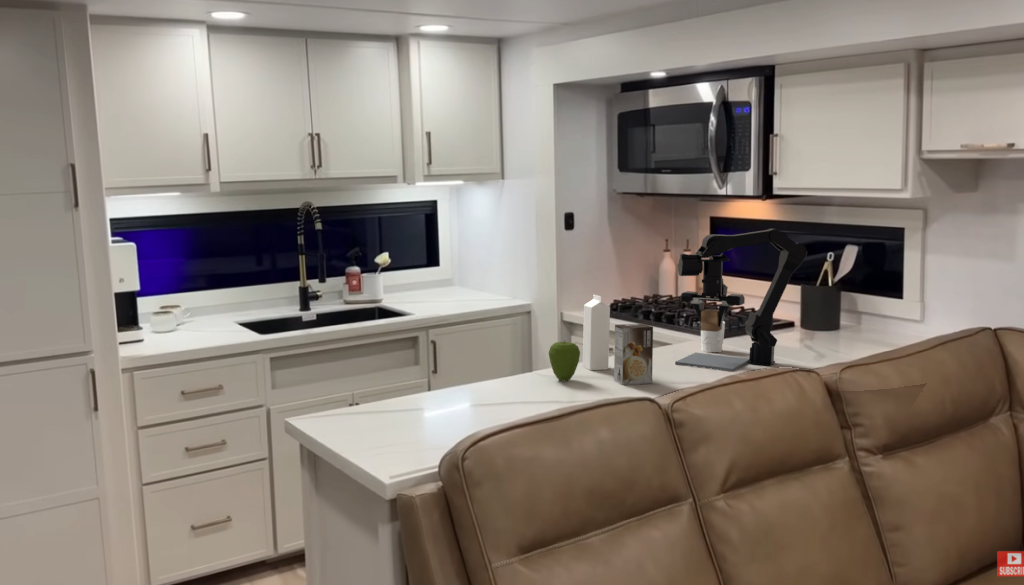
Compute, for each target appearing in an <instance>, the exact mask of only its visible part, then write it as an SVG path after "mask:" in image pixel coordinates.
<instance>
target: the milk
mask: <svg viewBox="0 0 1024 585" xmlns="http://www.w3.org/2000/svg"><path fill="white" fill-rule="evenodd" d="M592 297H593V298H592V299H591V300H590V301H588V302H586V303H585V304H584V305H583V326H582V327H583V328H582V330H583V333H582V334H583V335H582V341H583V342H582V367H583V368H585V369H587V370H588V371H600V370H601V371H602V370H606V371H607V370H609V359H610V358H609V356H610V355H609V354H610V352H609V351H610V322H611V321H610V320H611V317H610V316H611V306H610V305H608V304H606V303H604V302H602V296H601V295H597V294H593V295H592Z"/></svg>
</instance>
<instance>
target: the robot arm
mask: <svg viewBox="0 0 1024 585" xmlns="http://www.w3.org/2000/svg"><path fill="white" fill-rule="evenodd" d="M767 243H768V244H769V243H770V244H772V246H774V248H776V249H777V250H778V251H780V253H779V257H778V267H777V270H776V272H775V274H774V277H773V278H772V280H771V283H770V285H769V287H768V289H767V291H766V293H765V295H764V298H763V299H762V302H761V304H760V306H759V308H758V309H757V310H756V311H755V312H753V311H749V313H748V318H747V320H746V321H745V322H744V324H745V328H744V329H745V332H746V335H747V336H749V337H750V339H751V341H752V343H751V346H750V348H749V358H748V359H749V360H750V362H749V364H751V365H759V366H768V367H769V366H772V365H774V364H776V361H775V347H776V344H777V342H778V339H777V338H776V337H775V336H774V335H773V334H772V333H771V330H772V327H773V321H774V320H773V319H774V318H773V317H774V313H775V311H776V309H777V308H778V306H779V303H780V301H781V299H782V297H783V294H784V293H785V290H786V288H787V286H788V284H789V282H790V280H791V277H792V275H793V274H794V272H795V271H796V270H797V269H798V268H799V267H800V266H801V265H802V264H803V262H804V261H805V260H806V258H807V255H808V250H807V248H806V246H805V245H804V244H802V243H798V242H795V241H794V240H793V239H791V238H789V237H788V236H786V235H785V234H784V233H782V232H781V230H779V229H777V228H768V229H765V230H759V231H758V230H757V231H752V232H751V231H750V232H746V233H745V232H744V233H737V234H712V233H711V234H708V235H704V238H702V241H701V246H700V247H699V248H698V249H697V251H696V252H695V253H693V254H687V253H680V255H679V259H678V264H677V272H678V275H679V277H699V275H700V274H702V275H703V276H702V279H701V283H702V292H701V294H700V293H699V292H698V291H688V290H687V291H684V292H682V293H681V294H680V296H679V299H680V300H679V301H680V302H681V303H689V305H690V306H693V308H694V310H695V312H696V315H697V317H698V319H699V322H700V323H701V311H703V310H705V304H706V302H720V303H721V304H720V305H719V306H718V310H719V320H718V323H719V327H721V325H722V323H723V321H724V320H725V318H726V314H727V312H728V311H729V309H730V308H732V307H734V306H742V305H745V303H746V302H745V301H746V300H745V299H746V298H745V296H744V294H738V293H737V294H736V293H731V294H728V288H729V287H728V286H727V285H726V284H724V278H723V262H729V261H730V258H729V257H728V256H726V254H725V253H726V252H728V251H731V250H733V249H736V248H740V247H747V246H754V245H761V244H767ZM719 254H720V255H719ZM727 294H728V295H727Z"/></svg>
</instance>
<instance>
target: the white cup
mask: <svg viewBox="0 0 1024 585" xmlns="http://www.w3.org/2000/svg"><path fill="white" fill-rule="evenodd" d="M725 327H726V322H725V321H724V320H723V323H722V329H721V330H719V331H717V332H714V331H702V330H701V329H700V342H701V346H700V349H701V351H702V352H704V351H705V353H711V352H718V353H721V352H722V351H723V344H724V339H725V338H724V337H725Z"/></svg>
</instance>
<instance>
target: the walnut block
mask: <svg viewBox="0 0 1024 585" xmlns="http://www.w3.org/2000/svg"><path fill="white" fill-rule="evenodd" d="M718 320H719V309H711V308H710V309H708V308H707V309H705V308H704V310H703V311H701V322H700V331H701V330H702V331H714V332H717V331H719V330H721V329H722V325H721V327H719V323H718Z"/></svg>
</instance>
